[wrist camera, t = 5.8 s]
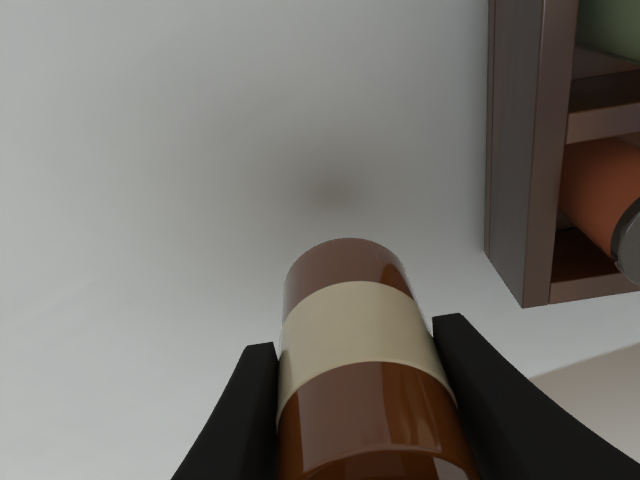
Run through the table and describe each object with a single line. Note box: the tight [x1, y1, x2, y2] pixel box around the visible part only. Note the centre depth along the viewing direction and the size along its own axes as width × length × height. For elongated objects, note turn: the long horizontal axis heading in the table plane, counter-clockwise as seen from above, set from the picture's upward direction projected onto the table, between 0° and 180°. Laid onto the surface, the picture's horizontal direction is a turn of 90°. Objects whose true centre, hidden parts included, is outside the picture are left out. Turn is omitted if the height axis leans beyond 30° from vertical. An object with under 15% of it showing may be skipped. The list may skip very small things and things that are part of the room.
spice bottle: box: [275, 238, 483, 480], centre depth 10 cm, size 4×4×8 cm
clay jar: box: [558, 136, 640, 285], centre depth 16 cm, size 4×4×6 cm
